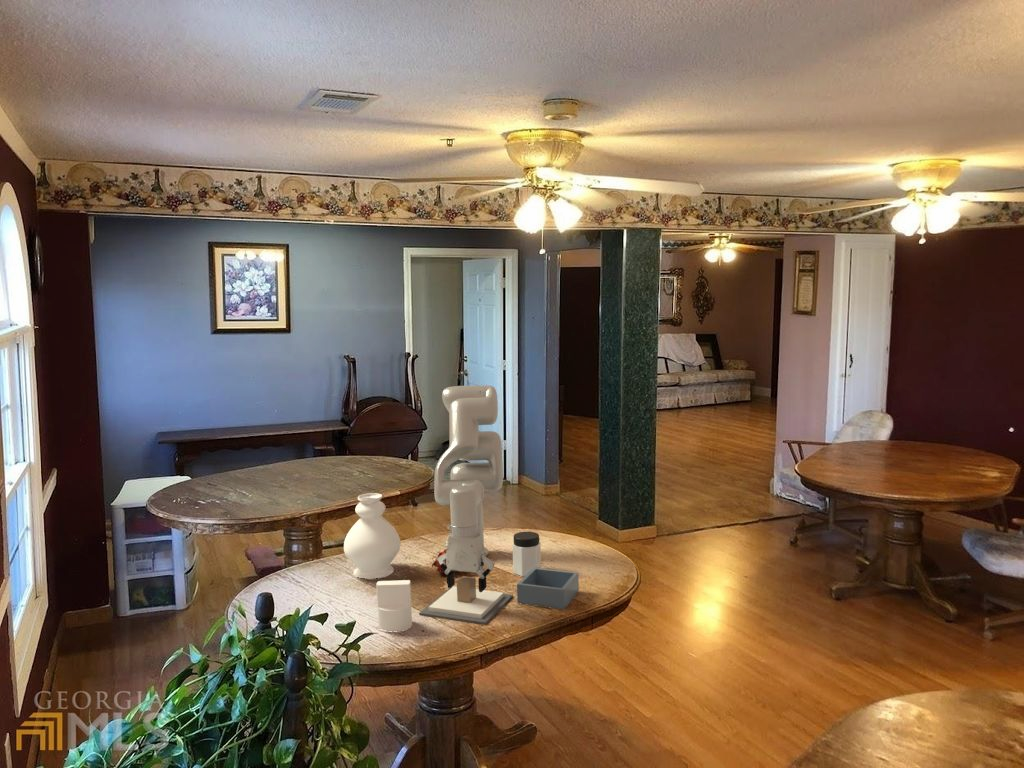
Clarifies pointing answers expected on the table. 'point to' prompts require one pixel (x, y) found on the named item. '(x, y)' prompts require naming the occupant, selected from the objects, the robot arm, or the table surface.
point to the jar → (526, 552)
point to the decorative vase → (371, 539)
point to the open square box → (548, 588)
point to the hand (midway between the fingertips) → (466, 588)
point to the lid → (466, 600)
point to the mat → (483, 620)
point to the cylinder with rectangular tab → (394, 605)
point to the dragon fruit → (439, 564)
